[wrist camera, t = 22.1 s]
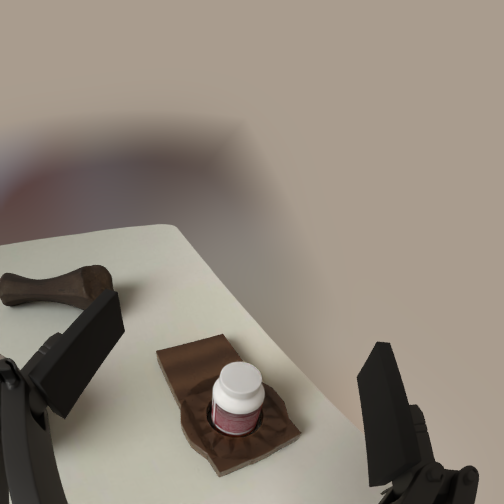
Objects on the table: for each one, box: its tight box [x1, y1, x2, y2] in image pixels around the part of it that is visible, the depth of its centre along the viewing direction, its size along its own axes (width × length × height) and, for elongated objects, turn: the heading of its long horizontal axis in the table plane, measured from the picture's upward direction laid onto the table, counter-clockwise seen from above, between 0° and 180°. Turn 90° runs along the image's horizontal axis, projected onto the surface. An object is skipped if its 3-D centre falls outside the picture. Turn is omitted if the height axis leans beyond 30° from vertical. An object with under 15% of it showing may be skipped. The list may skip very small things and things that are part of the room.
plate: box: [156, 334, 301, 477], centre depth 35 cm, size 22×14×2 cm, turn 32°
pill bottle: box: [212, 362, 265, 438], centre depth 30 cm, size 6×6×11 cm
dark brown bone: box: [0, 265, 114, 310], centre depth 44 cm, size 11×10×28 cm
